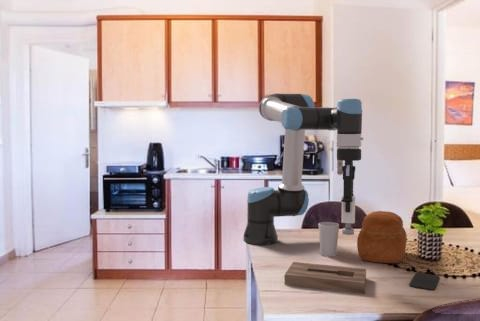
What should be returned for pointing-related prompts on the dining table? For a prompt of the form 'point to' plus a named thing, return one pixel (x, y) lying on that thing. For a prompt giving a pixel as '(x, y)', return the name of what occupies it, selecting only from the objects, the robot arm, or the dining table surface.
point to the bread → (382, 238)
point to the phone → (424, 281)
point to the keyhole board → (326, 277)
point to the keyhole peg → (348, 229)
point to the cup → (328, 238)
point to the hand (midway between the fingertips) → (348, 220)
